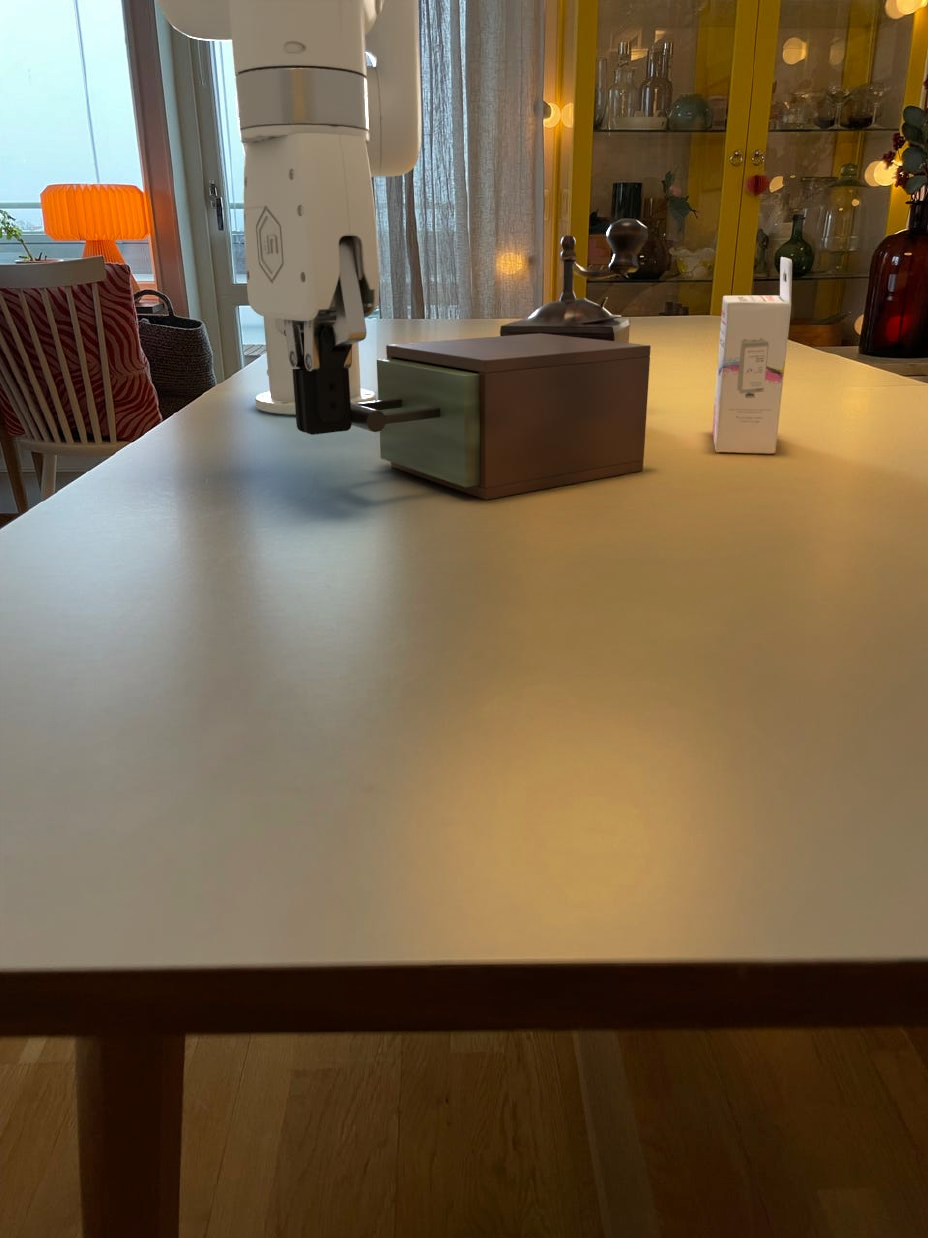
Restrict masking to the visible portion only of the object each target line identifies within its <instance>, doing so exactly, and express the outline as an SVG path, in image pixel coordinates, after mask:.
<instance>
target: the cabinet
mask: <svg viewBox="0 0 928 1238" xmlns="http://www.w3.org/2000/svg"><path fill="white" fill-rule="evenodd" d="M385 350H386V352H385V353H386V359H388V358H391V359H396V360H402V361H408V362H411V361H419V362H425V363H430V364H436V365H442V366H448V367H454V368H459V369H465V370H471V371H477V372H479V375H480V485H478V486H472V487H463V486H460V485H457V484H454V483H451V482H448V481H445V480H443V479H440V478H437V477H434V476H431V475H428V474H425V473H422V472H419V471H416V470H413V469H410V468H408V467H405V466H402V465H399V464H396V463H393V462H390V468H394V469H397V470H400V471H401V472H405V473H408V474H411V475H414V476H416V477H419V478H423V479H425V480H428V481H431V482H433V483H436V484H439V485H443V486H445V487H448V488H451V489H454V490H456V491H458V492H463V493H465V494H468V495H471V496H474V497H477V498H479V499H481V500H485V501H488V500H493V499H499V498H503V497H508V496H513V495H521V494H526V493H530V492H535V491H541V490H547V489H551V488H557V487H562V486H567V485H573V484H577V483H578V484H579V483H583V482H589V481H593V480H594V481H595V480H598V479H599V480H600V479H605V478H610V477H616V476H622V475H626V474H631V473H637V472H642V471H643V470H644V460H645V445H646V444H645V443H646V427H647V412H648V399H649V398H648V397H649V379H650V366H651V365H650V363H651V345H649V344H642V343H633V342H629V343H625V342H615V341H606V340H597V339H588V338H579V337H569V336H560V335H551V334H542V333H538V334H525V335H511V336H500V335H499V336H488V337H487V336H486V337H474V338H462V339H461V338H460V339H449V340H448V339H447V340H445V339H444V340H432V341H422V342H421V341H420V342H407V343H396V344H394V343H393V344H386V346H385Z"/></svg>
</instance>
